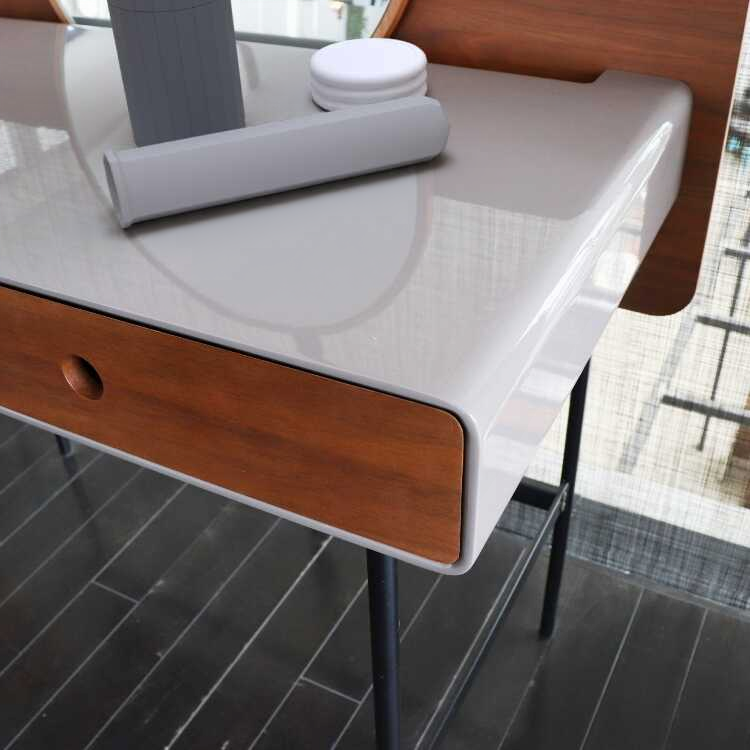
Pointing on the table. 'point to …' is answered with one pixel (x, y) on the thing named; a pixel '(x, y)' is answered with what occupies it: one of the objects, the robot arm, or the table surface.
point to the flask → (178, 67)
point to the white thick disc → (366, 72)
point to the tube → (272, 157)
